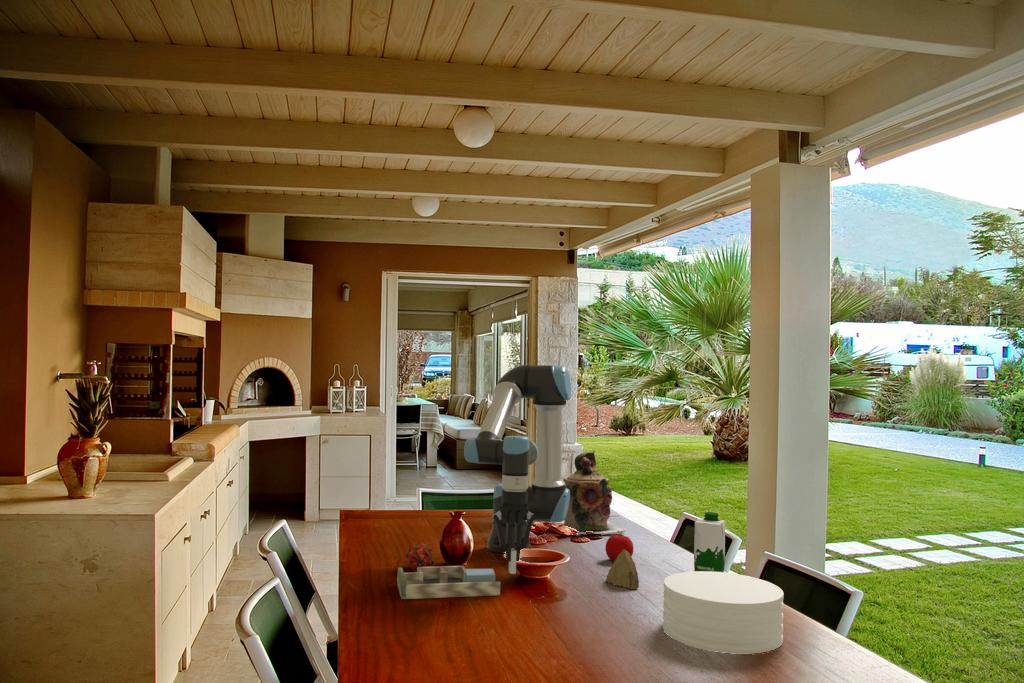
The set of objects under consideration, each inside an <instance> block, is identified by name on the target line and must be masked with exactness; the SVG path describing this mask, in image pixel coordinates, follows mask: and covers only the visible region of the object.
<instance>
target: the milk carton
mask: <svg viewBox="0 0 1024 683" xmlns="http://www.w3.org/2000/svg"><path fill="white" fill-rule="evenodd" d="M693 531H694V542H693V545H694V546H693V567H694V568H693V569H694V570H693V571H712V572H725V564H726V563H725V561H726V558H725V556H726V546H725V545H726V520H724V519H723V520H721V519H719V513H718V512H712V511H706V512H704V517H700V518H698V519H696V520H695V521H694V530H693Z"/></svg>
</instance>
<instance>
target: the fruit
mask: <svg viewBox="0 0 1024 683" xmlns="http://www.w3.org/2000/svg"><path fill="white" fill-rule="evenodd" d="M623 549H624V550H626V551H627V552H629V553H630V555H631V557H633V555H634V543H633V540H631V538H630V537H628V536H627V535H619V531H618V534H612V535H611V536H609V537H608V539H607V540H606V543H605V554H606V556H607V557H608V558H609V560H610V561H613V562H615V560H616V558H617V557H618V555H619V554H620V553H621V551H622V550H623Z"/></svg>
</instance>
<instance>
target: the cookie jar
mask: <svg viewBox="0 0 1024 683" xmlns="http://www.w3.org/2000/svg"><path fill="white" fill-rule="evenodd" d="M595 453H596V450H595V449H593V450H592V451H587V452H583V453H579V454H577V456H576V457H575V458H574V467H575V469H576V470H575V471H574V473H572V474H570V475H565V476H564V477H563V479H562V480H563V481H564V482H565V489H566V488H567V489H569V490H570V501H569V507H568V511H567V515H566V517H565V519H564V520H563V521H562V522H556V523H563V525H564V526H568V527H571V528H574V529H576V530H577V531H579V532H578V534H583V535H587V534H586V531H593V533H597V534H601V535H600V536H604V535H606V536H607V535H611V536H612V535H618V536H619V535H620V536H622V535H623V534H624V533H625V532H626V531H627V529H625V528H620V527H617V526H616V525H614V524H612V523H611V522H609V521H608V520H609V519H610V516H611V504H612V502H613V495H612V491H613V488H612V486H609V487H608V485H609V483H610V478H607V477H605V476H603V475H604V474H602V472H601V471H599V469H598V467H597V459H596V455H595ZM618 531H619V534H618Z"/></svg>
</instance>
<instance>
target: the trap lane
mask: <svg viewBox="0 0 1024 683" xmlns="http://www.w3.org/2000/svg"><path fill="white" fill-rule="evenodd" d="M465 569H467V568H466V567H465V566H464V565H444V566H443V565H441V566H439V565H438V566H430V567H417V572H414V571H412V572H404V569H403V567H397V575H396V576H397V579H396V580H397V581H396V582H397V584H396V586H397V589H398V592H399V596H400V598H401V600H409V599H410V600H412V599H415V600H417V599H418V600H419V599H435V598H436V599H438V598H440V599H442V598H459V597H460V598H462V597H464V598H465V597H466V598H467V597H484V596H485V597H486V596H487V597H488V596H491V597H492V596H500V595H501V581H500V580H497V581H496V580H495V581H491V582H465ZM461 579H462V580H461Z"/></svg>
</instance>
